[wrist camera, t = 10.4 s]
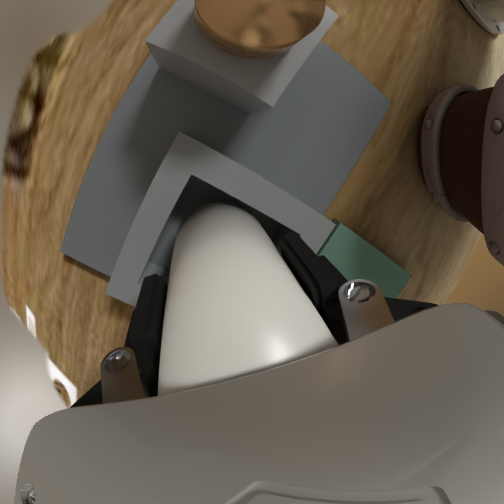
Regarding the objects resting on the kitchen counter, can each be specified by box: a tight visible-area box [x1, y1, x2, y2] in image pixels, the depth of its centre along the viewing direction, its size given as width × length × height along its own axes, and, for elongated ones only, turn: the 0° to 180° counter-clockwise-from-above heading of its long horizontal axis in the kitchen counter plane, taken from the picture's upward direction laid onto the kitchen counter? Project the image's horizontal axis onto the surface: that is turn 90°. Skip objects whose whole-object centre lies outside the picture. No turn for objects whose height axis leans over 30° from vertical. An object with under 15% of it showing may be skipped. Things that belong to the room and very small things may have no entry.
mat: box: [316, 219, 411, 298], centre depth 22 cm, size 10×10×1 cm
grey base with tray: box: [60, 0, 391, 307], centre depth 14 cm, size 20×14×6 cm
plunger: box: [194, 0, 325, 59], centre depth 9 cm, size 4×4×6 cm
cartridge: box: [158, 202, 338, 396], centre depth 10 cm, size 5×5×12 cm
